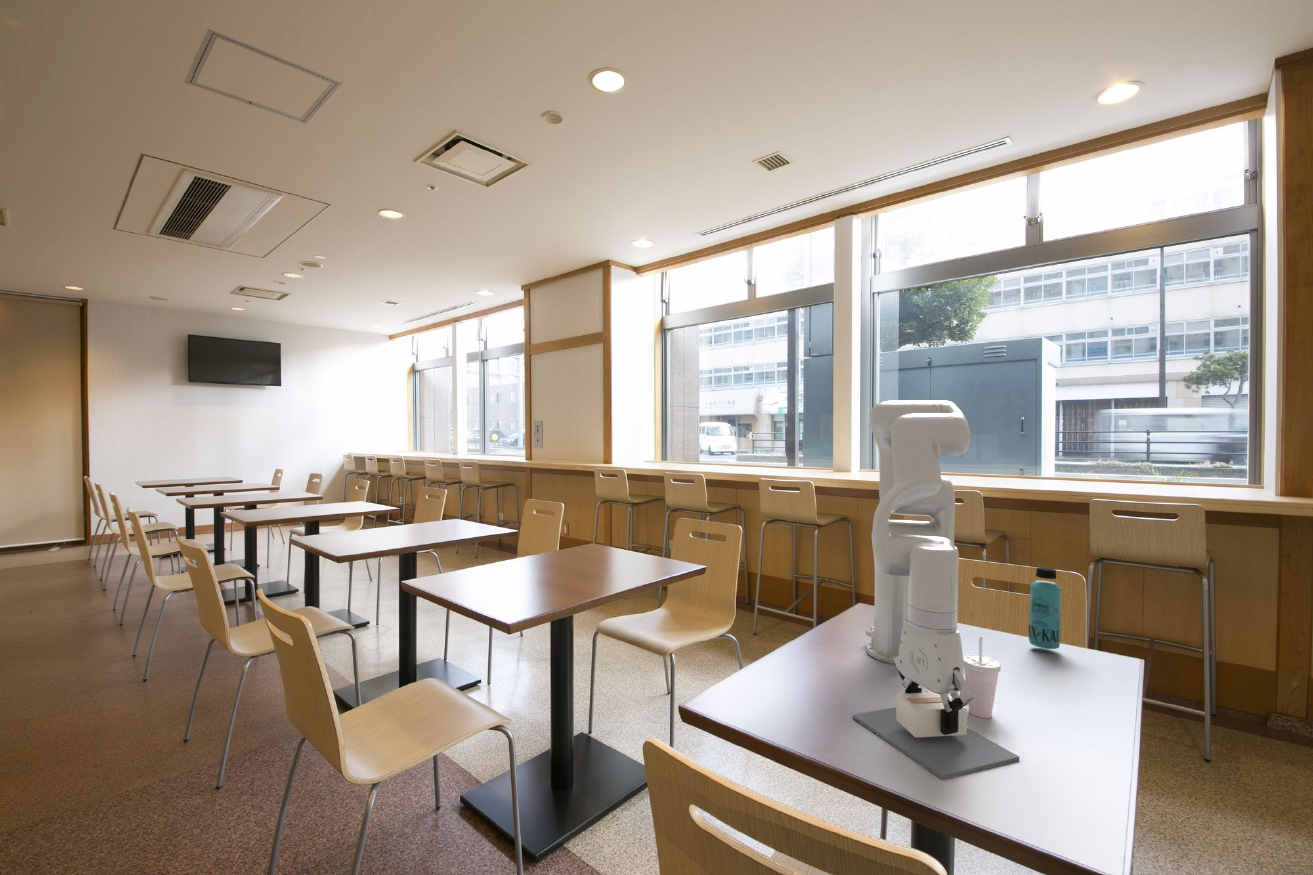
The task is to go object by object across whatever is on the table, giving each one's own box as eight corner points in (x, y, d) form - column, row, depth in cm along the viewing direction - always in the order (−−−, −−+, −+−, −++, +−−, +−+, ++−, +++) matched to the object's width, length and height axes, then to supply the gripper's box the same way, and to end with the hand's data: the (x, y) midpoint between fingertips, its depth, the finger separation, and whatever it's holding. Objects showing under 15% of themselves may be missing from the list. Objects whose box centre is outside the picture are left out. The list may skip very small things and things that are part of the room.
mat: (852, 718, 106) (852, 714, 106) (921, 705, 112) (921, 702, 112) (941, 779, 87) (941, 775, 87) (1019, 760, 93) (1019, 756, 93)
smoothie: (995, 708, 111) (997, 634, 111) (1003, 724, 105) (1005, 645, 105) (958, 702, 113) (959, 630, 113) (963, 717, 107) (965, 641, 107)
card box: (944, 717, 103) (945, 691, 103) (966, 734, 97) (966, 706, 97) (896, 719, 102) (896, 692, 102) (915, 737, 96) (915, 709, 96)
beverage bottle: (1028, 643, 146) (1030, 563, 146) (1061, 649, 142) (1062, 567, 142) (1027, 651, 141) (1028, 568, 141) (1060, 658, 137) (1062, 572, 137)
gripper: (878, 605, 106) (876, 702, 106) (958, 636, 90) (956, 752, 90) (910, 601, 109) (909, 696, 109) (994, 631, 93) (992, 743, 93)
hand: (930, 721), depth 99 cm, fingers open, 7 cm apart
